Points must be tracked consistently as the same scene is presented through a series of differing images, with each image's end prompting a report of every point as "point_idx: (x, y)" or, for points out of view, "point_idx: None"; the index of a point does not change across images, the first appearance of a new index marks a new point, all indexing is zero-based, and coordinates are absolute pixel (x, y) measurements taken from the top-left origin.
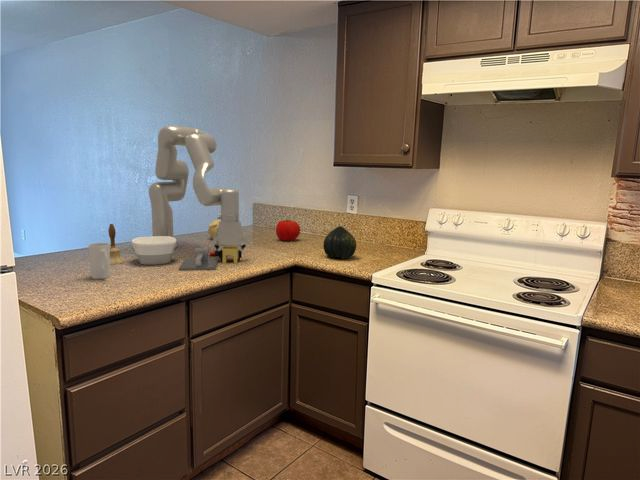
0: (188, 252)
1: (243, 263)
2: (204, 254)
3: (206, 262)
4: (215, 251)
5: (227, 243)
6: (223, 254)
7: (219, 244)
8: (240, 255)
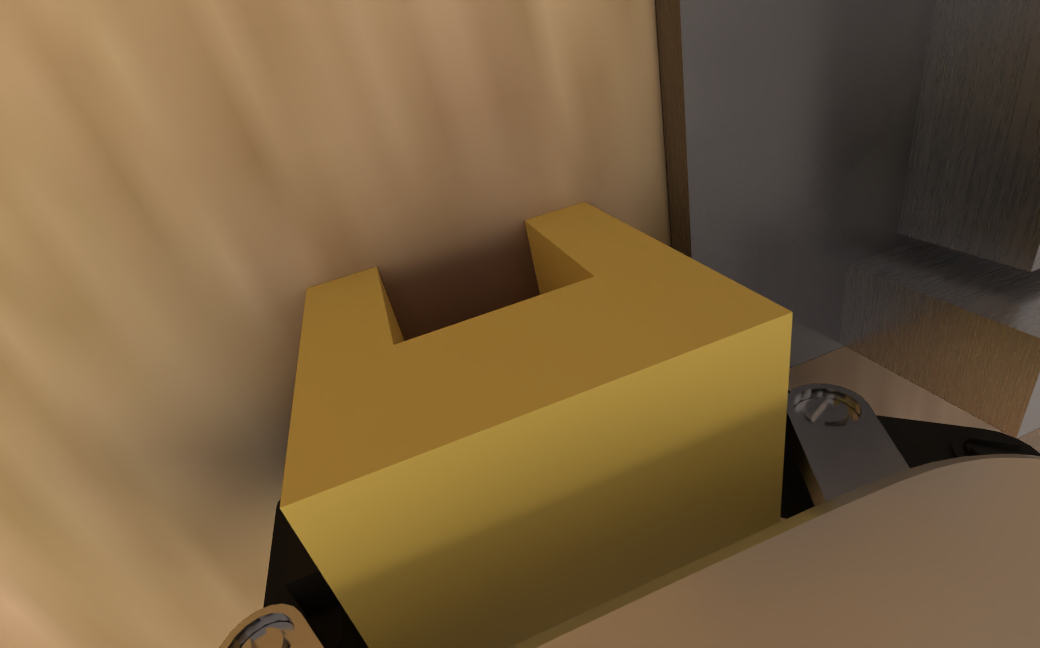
0: None
1: (138, 291)
2: (976, 279)
3: (873, 18)
4: None
5: (787, 612)
6: (662, 264)
7: (1014, 455)
8: None
